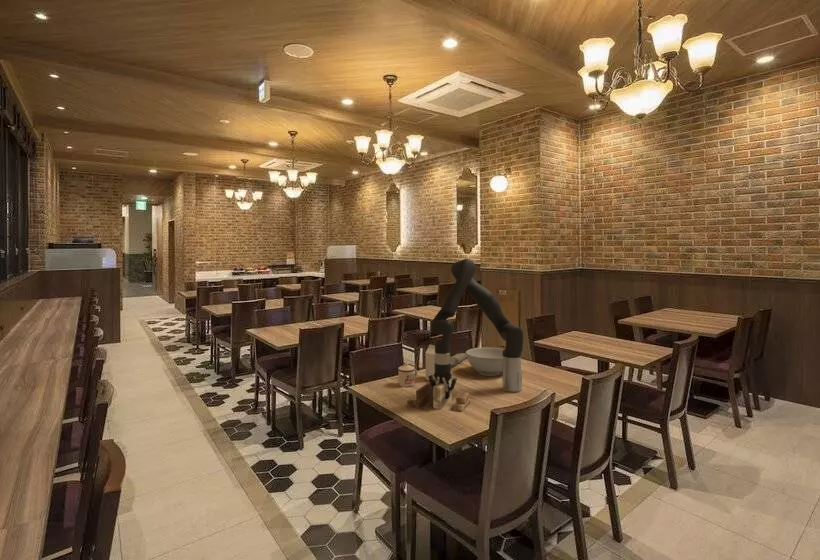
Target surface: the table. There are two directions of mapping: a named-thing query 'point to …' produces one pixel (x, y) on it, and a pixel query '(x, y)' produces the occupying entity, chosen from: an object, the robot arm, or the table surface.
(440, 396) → the pale wooden block
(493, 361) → the decorative bowl
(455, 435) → the table surface
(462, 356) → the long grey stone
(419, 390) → the rack
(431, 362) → the milk carton
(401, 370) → the teacup with lid
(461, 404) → the offcut stack
